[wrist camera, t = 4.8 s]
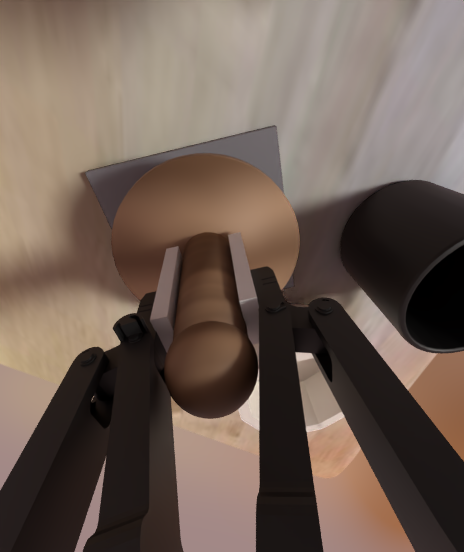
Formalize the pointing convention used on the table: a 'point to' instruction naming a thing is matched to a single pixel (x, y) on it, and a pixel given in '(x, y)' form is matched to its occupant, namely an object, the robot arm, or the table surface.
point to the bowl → (314, 394)
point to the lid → (205, 267)
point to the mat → (245, 146)
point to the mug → (412, 261)
